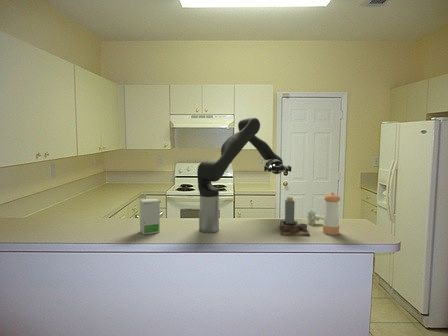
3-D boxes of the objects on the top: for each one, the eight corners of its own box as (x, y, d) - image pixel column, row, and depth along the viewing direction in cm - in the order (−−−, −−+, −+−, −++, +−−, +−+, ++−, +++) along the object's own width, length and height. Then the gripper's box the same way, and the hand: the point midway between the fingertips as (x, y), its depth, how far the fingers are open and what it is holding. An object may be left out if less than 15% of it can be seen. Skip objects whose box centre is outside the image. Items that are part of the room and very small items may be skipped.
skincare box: (143, 235, 147) (141, 202, 145) (139, 231, 153) (138, 199, 151) (160, 232, 151) (159, 200, 149) (156, 228, 157) (156, 197, 155)
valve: (307, 225, 162) (332, 226, 161) (308, 212, 162) (332, 213, 160) (306, 221, 169) (329, 222, 167) (306, 209, 168) (330, 210, 166)
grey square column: (285, 230, 150) (286, 198, 149) (284, 227, 154) (285, 196, 153) (293, 230, 150) (294, 198, 148) (292, 228, 154) (293, 196, 152)
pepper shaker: (335, 236, 146) (336, 195, 143) (320, 232, 150) (321, 192, 148) (341, 232, 151) (343, 192, 149) (326, 229, 156) (328, 190, 154)
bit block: (280, 235, 147) (281, 226, 146) (278, 227, 159) (278, 219, 158) (309, 235, 146) (309, 227, 145) (305, 228, 157) (305, 220, 157)
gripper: (263, 159, 179) (264, 162, 162) (289, 160, 177) (292, 162, 161) (263, 173, 179) (264, 177, 163) (288, 173, 178) (292, 177, 162)
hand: (278, 170), depth 162 cm, fingers open, 8 cm apart
